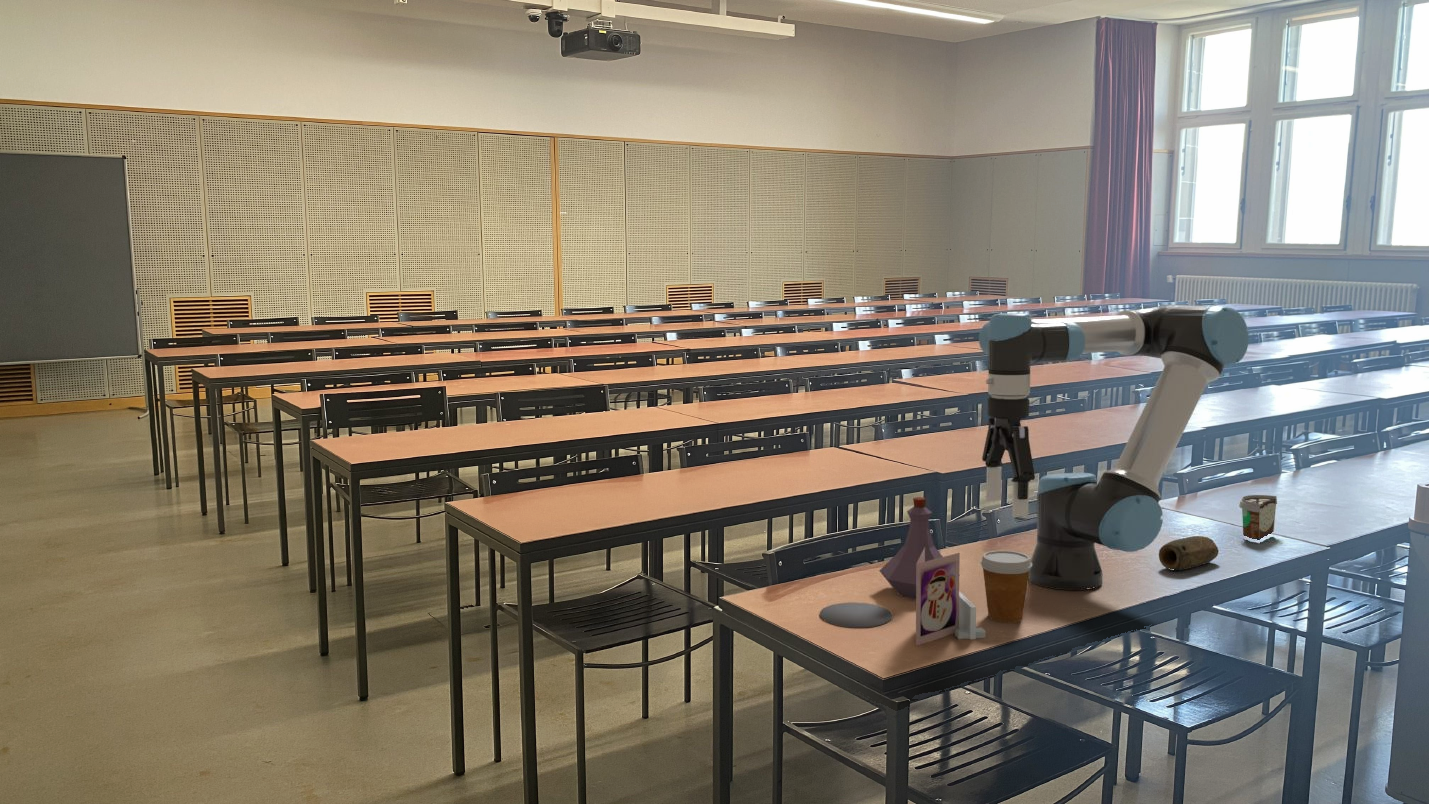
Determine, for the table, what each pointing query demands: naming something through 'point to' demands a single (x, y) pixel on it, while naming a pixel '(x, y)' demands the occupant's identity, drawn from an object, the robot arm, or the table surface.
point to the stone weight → (1188, 552)
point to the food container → (1258, 515)
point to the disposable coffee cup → (1006, 584)
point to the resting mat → (856, 615)
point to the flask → (911, 552)
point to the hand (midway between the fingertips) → (1006, 507)
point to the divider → (968, 620)
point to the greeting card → (937, 597)
